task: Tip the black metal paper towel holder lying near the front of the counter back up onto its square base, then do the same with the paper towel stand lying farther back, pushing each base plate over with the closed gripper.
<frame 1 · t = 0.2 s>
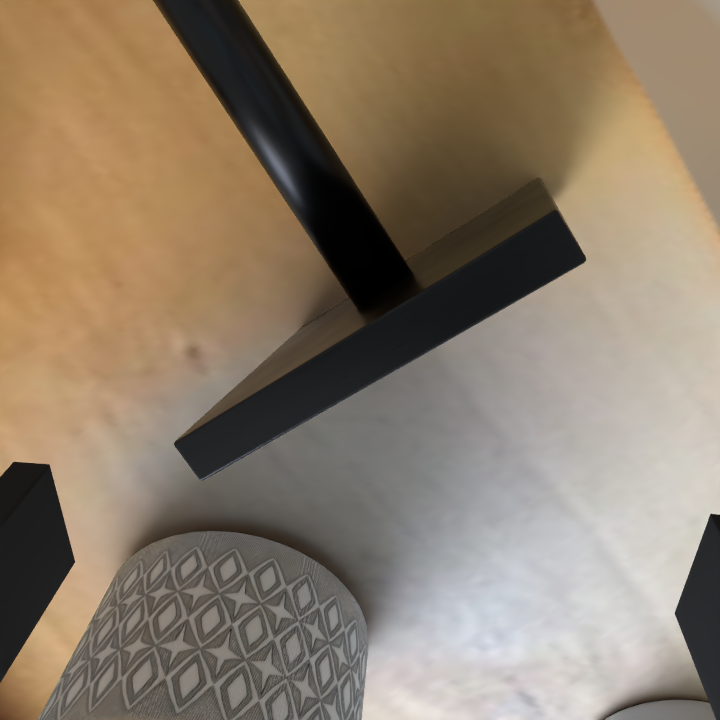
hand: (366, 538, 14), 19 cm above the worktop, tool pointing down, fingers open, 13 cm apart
planter: (243, 610, 43), on the worktop
black holder: (406, 323, 24), point 7 cm above the worktop
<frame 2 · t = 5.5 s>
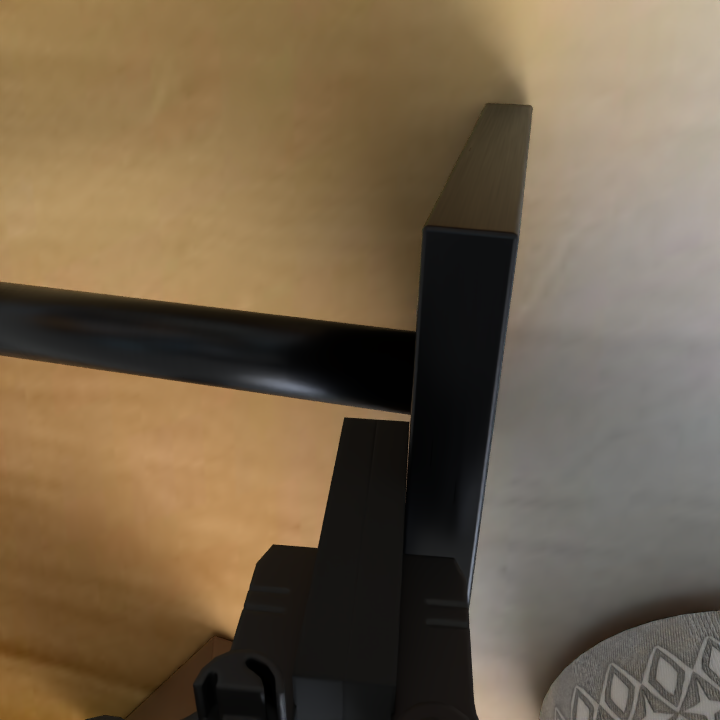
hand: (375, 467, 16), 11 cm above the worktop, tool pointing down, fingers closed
planter: (697, 696, 35), on the worktop
black holder: (497, 384, 19), point 7 cm above the worktop, touching gripper
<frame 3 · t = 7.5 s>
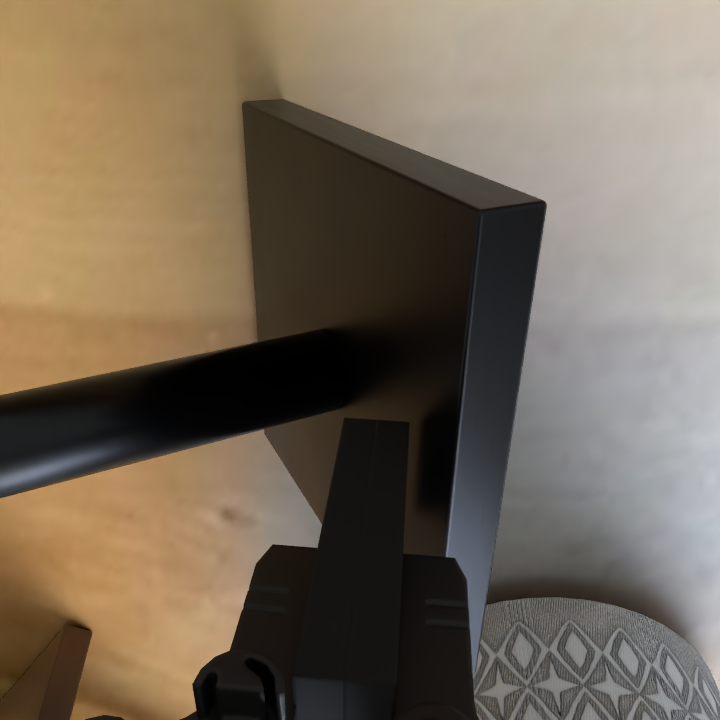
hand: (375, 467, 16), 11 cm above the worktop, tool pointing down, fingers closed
planter: (539, 683, 35), on the worktop
black holder: (372, 359, 20), point 6 cm above the worktop, tilted 44°
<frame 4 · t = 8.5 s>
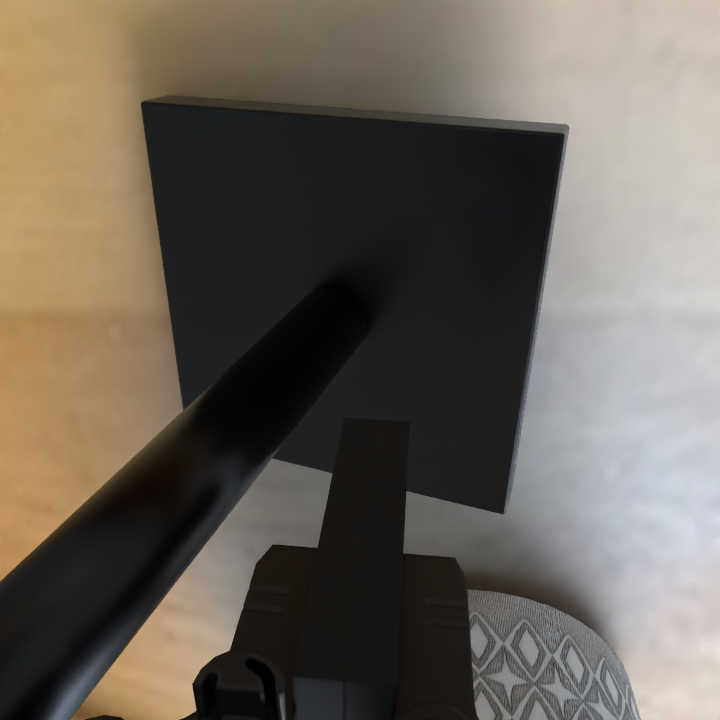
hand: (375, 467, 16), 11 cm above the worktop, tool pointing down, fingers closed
planter: (462, 676, 36), on the worktop
black holder: (348, 303, 24), point 2 cm above the worktop, tilted 88°, touching hand
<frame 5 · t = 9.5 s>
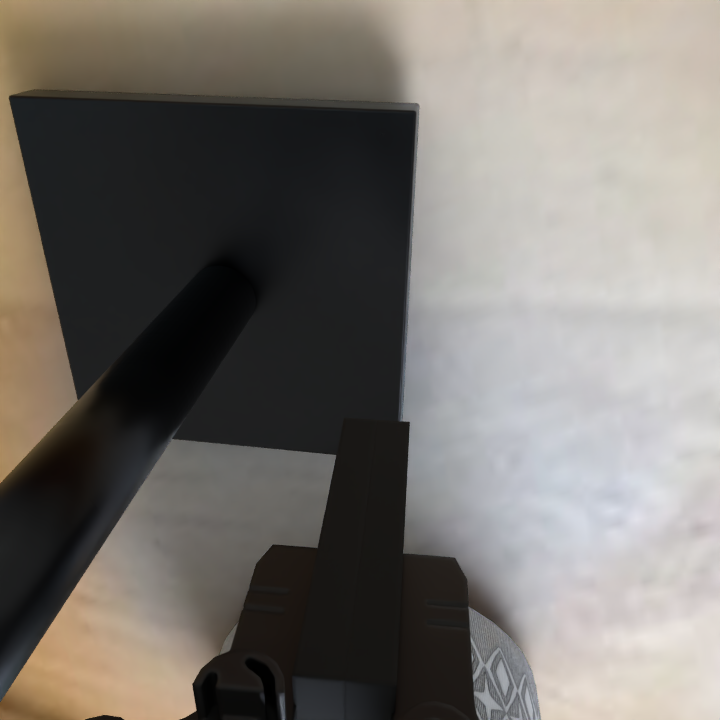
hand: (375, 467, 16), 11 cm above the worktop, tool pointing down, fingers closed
planter: (375, 667, 36), on the worktop
black holder: (235, 281, 25), on the worktop, tilted 100°, touching hand
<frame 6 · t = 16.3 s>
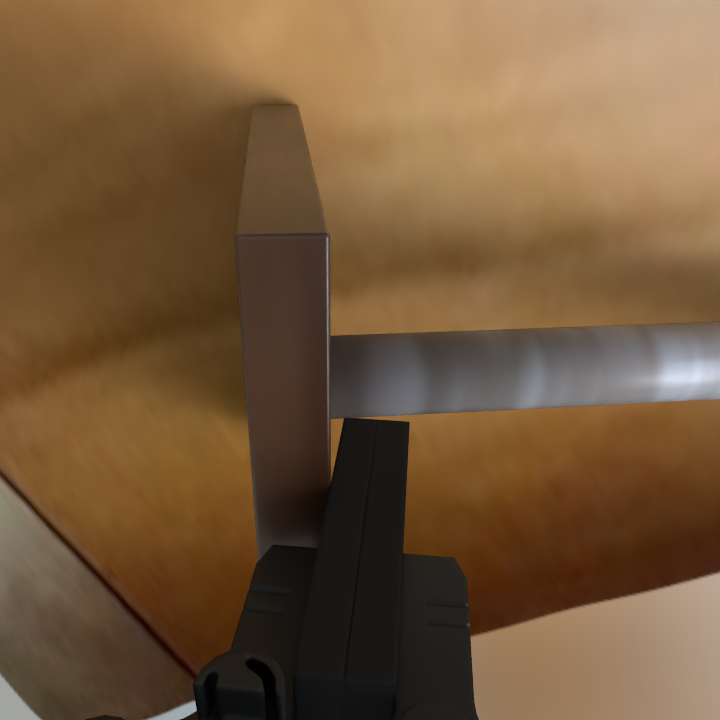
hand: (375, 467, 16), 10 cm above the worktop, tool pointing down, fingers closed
paper towel stand: (260, 380, 19), point 7 cm above the worktop, touching gripper
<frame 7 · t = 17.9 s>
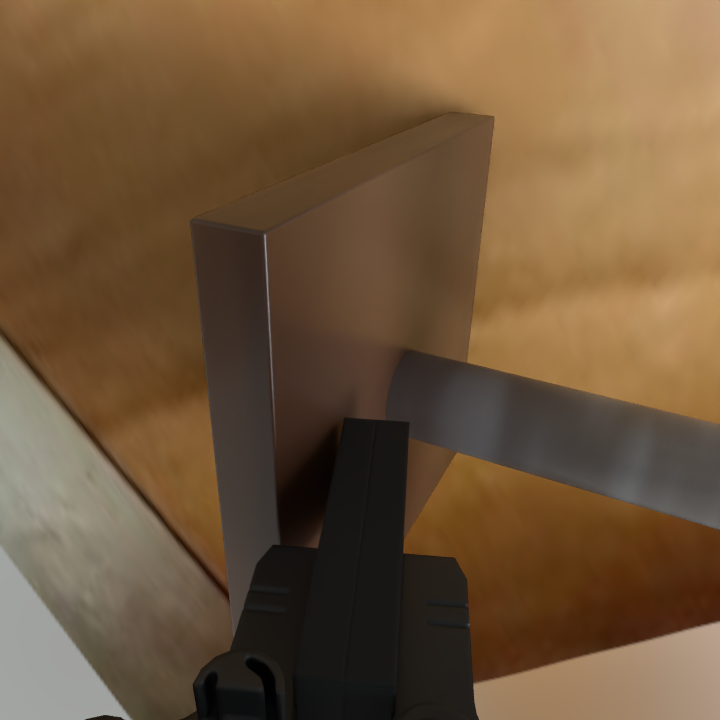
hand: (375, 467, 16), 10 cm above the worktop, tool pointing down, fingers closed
paper towel stand: (355, 378, 19), point 6 cm above the worktop, tilted 33°, touching gripper
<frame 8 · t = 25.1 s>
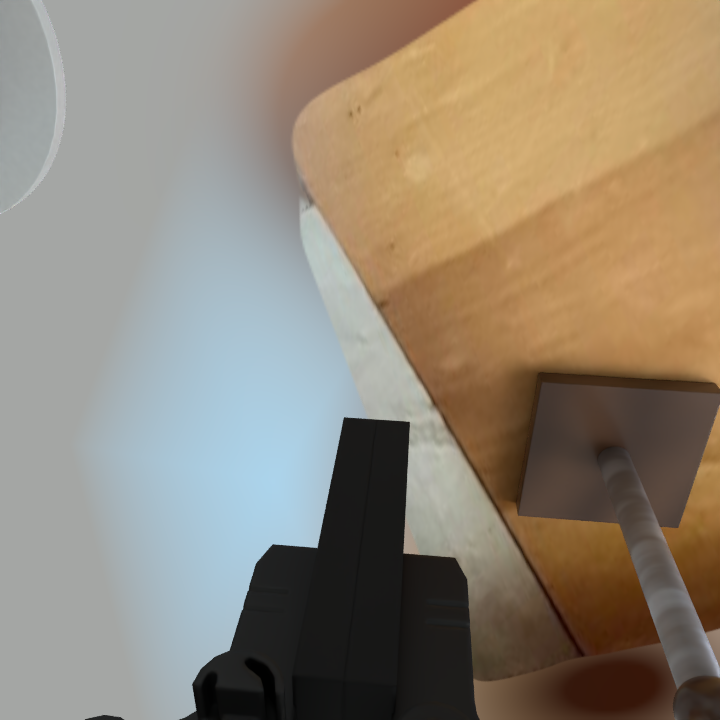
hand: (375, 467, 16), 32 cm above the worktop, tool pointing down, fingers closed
paper towel stand: (609, 447, 53), on the worktop, tilted 102°
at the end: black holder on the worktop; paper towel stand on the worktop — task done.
